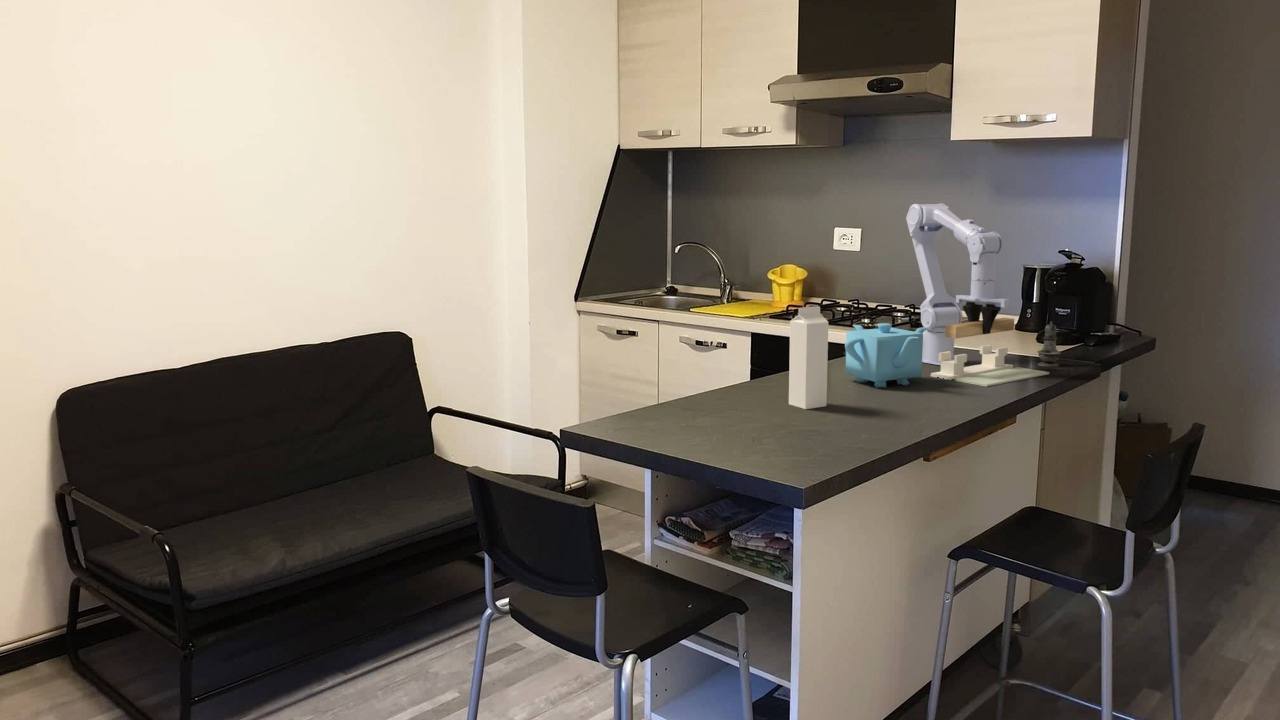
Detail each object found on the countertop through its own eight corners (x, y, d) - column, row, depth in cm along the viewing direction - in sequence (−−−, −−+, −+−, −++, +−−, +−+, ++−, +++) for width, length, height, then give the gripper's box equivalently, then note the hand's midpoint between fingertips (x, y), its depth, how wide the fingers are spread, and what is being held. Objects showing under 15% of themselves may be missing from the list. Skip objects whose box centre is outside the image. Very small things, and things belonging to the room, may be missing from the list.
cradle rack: (930, 376, 246) (931, 353, 245) (993, 364, 260) (994, 343, 259) (950, 379, 241) (951, 357, 240) (1012, 368, 255) (1014, 346, 254)
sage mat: (955, 380, 240) (955, 378, 239) (1017, 369, 254) (1018, 367, 254) (986, 386, 232) (986, 384, 232) (1049, 374, 247) (1049, 372, 247)
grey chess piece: (1056, 363, 262) (1059, 319, 260) (1063, 367, 256) (1066, 322, 254) (1033, 363, 263) (1036, 319, 261) (1040, 366, 257) (1043, 322, 255)
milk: (826, 406, 213) (829, 307, 209) (805, 409, 210) (807, 309, 206) (808, 401, 218) (811, 304, 214) (787, 404, 216) (790, 306, 212)
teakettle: (839, 387, 233) (841, 327, 231) (851, 373, 251) (852, 317, 248) (920, 392, 227) (923, 330, 224) (926, 377, 244) (929, 320, 242)
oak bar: (945, 337, 242) (945, 325, 241) (1003, 328, 255) (1004, 317, 255) (955, 338, 239) (955, 326, 239) (1013, 330, 253) (1014, 318, 252)
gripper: (949, 279, 249) (946, 331, 251) (998, 282, 237) (995, 337, 239) (966, 277, 253) (964, 328, 255) (1015, 281, 241) (1012, 335, 243)
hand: (980, 333), depth 247 cm, fingers closed on oak bar, 3 cm apart
